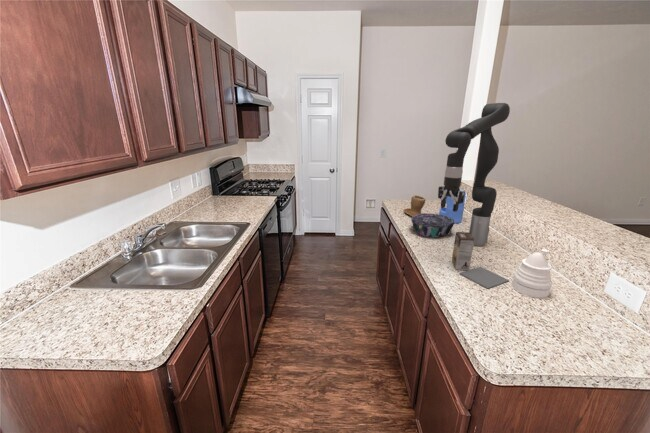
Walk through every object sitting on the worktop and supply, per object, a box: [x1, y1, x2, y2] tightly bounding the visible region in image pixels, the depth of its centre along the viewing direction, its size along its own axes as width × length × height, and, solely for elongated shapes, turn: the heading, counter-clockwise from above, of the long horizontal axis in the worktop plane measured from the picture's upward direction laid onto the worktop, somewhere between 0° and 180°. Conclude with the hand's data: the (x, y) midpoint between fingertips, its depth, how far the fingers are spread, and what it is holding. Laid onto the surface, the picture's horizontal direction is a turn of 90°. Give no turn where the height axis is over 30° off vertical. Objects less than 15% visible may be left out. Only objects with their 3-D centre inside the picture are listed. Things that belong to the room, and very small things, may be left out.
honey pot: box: [511, 248, 553, 299], centre depth 115 cm, size 13×13×18 cm
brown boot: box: [403, 195, 426, 217], centre depth 211 cm, size 15×12×15 cm
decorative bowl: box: [410, 212, 455, 239], centre depth 179 cm, size 26×28×10 cm
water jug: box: [438, 189, 467, 225], centre depth 197 cm, size 16×16×28 cm
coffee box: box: [451, 231, 475, 271], centre depth 135 cm, size 9×6×16 cm
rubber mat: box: [459, 266, 510, 290], centre depth 126 cm, size 14×14×1 cm
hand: (448, 209), depth 138 cm, fingers open, 6 cm apart
